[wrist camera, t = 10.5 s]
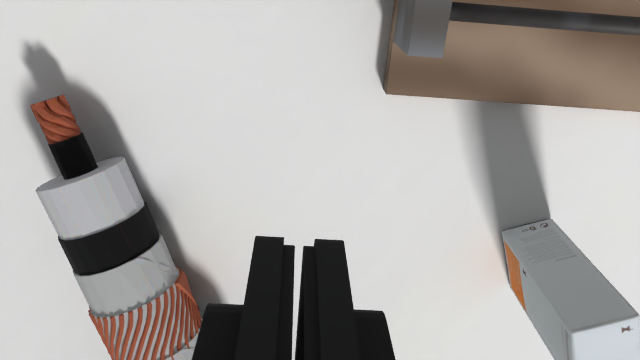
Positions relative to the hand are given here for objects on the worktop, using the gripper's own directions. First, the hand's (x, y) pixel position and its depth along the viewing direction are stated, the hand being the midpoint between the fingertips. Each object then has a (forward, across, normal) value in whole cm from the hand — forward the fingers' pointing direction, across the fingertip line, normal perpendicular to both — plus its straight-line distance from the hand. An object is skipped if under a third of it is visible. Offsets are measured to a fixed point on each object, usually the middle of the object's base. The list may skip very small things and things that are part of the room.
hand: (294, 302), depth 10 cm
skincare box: (+27, -20, +15) cm, 37 cm away
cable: (+28, +10, +20) cm, 35 cm away
